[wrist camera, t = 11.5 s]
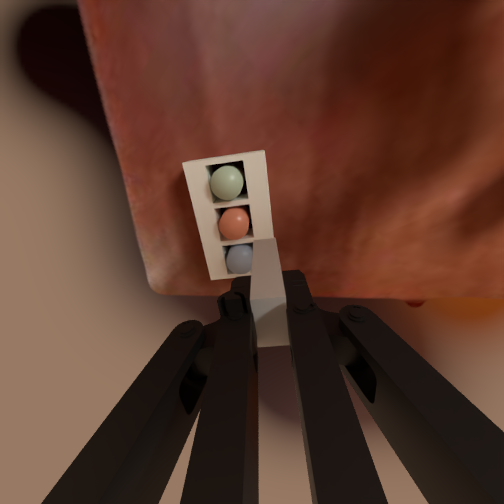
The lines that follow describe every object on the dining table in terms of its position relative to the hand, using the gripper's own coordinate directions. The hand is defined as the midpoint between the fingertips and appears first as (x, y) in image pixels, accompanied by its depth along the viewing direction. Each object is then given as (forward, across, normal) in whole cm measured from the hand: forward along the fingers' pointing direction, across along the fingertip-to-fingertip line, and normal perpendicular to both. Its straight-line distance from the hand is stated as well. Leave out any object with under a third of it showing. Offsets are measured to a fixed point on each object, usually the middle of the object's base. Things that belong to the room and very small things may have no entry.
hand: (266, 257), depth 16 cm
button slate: (+26, -5, -10) cm, 29 cm away
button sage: (+26, -5, +2) cm, 27 cm away
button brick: (+26, -5, -4) cm, 27 cm away
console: (+26, -5, -4) cm, 27 cm away
